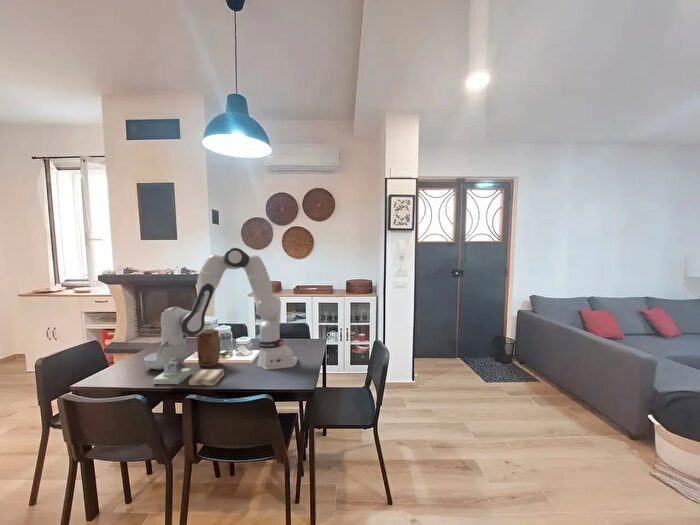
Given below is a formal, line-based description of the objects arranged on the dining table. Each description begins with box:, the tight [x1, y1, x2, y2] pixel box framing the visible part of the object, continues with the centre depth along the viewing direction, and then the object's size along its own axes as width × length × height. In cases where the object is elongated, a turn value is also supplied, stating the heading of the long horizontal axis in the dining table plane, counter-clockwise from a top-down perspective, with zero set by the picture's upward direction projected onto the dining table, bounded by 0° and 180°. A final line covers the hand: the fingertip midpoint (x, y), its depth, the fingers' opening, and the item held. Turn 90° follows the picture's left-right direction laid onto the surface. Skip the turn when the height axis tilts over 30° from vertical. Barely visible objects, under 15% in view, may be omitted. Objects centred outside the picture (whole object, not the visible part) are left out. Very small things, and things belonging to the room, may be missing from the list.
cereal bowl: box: [143, 351, 176, 370], centre depth 162 cm, size 17×17×7 cm
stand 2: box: [188, 368, 225, 386], centre depth 145 cm, size 12×12×3 cm
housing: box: [162, 357, 184, 376], centre depth 146 cm, size 7×6×7 cm
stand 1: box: [152, 368, 192, 385], centre depth 146 cm, size 12×12×3 cm
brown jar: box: [196, 328, 221, 368], centre depth 164 cm, size 11×8×20 cm
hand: (172, 366), depth 146 cm, fingers open, 8 cm apart
